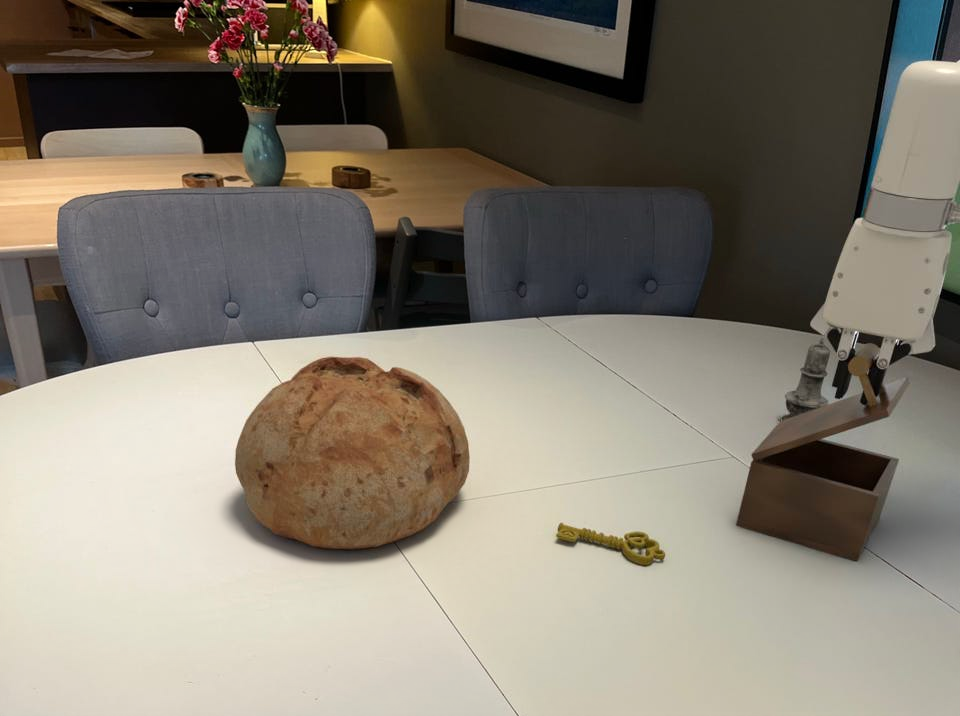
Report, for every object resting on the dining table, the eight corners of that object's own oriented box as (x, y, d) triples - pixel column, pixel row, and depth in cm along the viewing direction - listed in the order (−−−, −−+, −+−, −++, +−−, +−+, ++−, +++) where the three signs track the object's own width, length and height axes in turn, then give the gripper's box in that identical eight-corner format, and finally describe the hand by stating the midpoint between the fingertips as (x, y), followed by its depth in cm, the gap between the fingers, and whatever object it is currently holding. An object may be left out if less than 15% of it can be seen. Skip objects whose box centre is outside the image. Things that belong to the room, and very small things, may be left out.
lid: (910, 383, 106) (891, 329, 105) (889, 416, 98) (868, 358, 96) (782, 427, 115) (763, 378, 114) (753, 461, 107) (732, 408, 105)
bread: (386, 582, 96) (388, 438, 88) (191, 521, 104) (176, 384, 95) (496, 481, 117) (506, 356, 108) (326, 436, 124) (324, 316, 115)
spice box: (878, 520, 115) (899, 458, 110) (857, 561, 106) (878, 496, 102) (764, 488, 120) (780, 428, 115) (735, 525, 111) (751, 461, 107)
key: (552, 530, 105) (567, 511, 108) (550, 541, 105) (565, 521, 109) (660, 560, 101) (672, 539, 105) (658, 570, 102) (670, 549, 106)
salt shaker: (812, 435, 135) (836, 348, 128) (772, 422, 138) (793, 337, 131) (828, 423, 139) (851, 338, 132) (788, 411, 142) (810, 327, 135)
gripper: (999, 219, 93) (936, 405, 104) (831, 193, 99) (788, 371, 110) (990, 233, 88) (925, 427, 99) (813, 205, 94) (769, 391, 105)
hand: (853, 396), depth 104 cm, fingers closed on lid, 2 cm apart
